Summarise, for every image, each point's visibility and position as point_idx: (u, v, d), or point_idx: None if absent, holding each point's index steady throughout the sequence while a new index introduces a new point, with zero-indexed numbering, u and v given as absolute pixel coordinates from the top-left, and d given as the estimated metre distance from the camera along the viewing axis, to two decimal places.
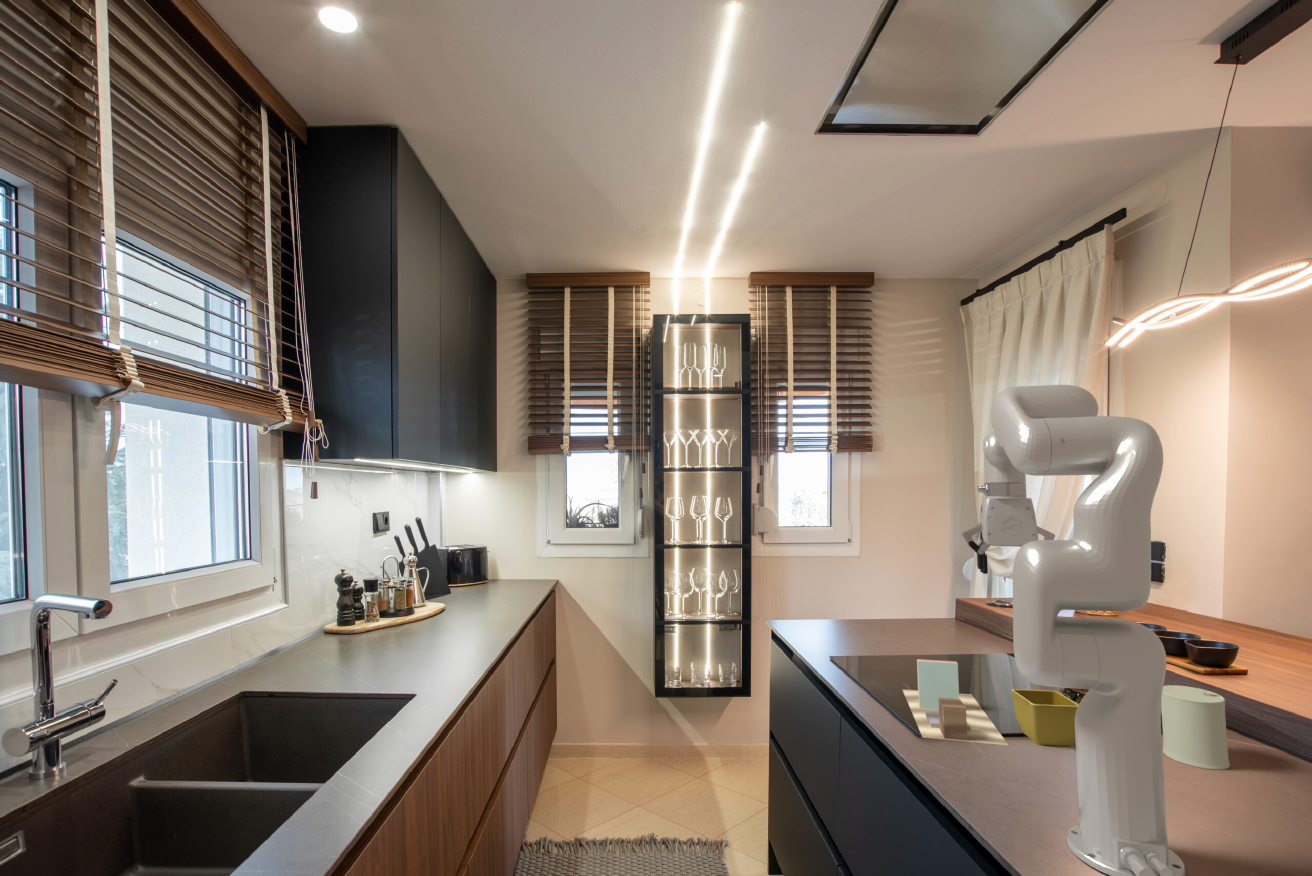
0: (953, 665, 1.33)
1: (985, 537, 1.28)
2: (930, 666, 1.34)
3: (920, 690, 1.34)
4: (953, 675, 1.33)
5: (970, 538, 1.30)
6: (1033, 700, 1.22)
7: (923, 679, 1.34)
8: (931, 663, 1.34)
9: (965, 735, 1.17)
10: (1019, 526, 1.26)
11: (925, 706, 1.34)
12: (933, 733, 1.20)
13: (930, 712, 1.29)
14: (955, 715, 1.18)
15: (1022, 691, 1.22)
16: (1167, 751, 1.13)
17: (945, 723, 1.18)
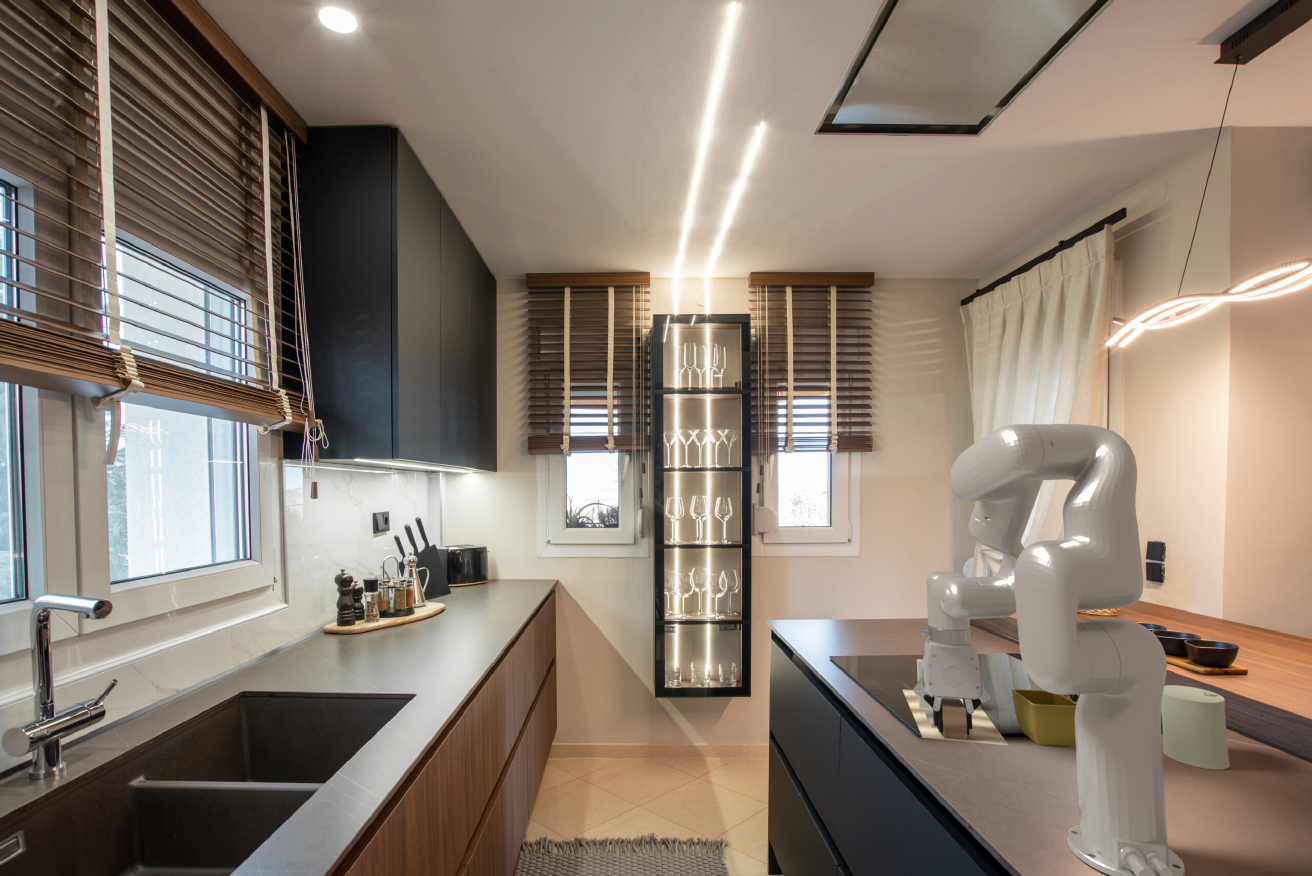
0: None
1: (926, 686, 1.19)
2: None
3: None
4: None
5: (922, 693, 1.21)
6: (1033, 700, 1.22)
7: None
8: None
9: (965, 735, 1.17)
10: (962, 677, 1.18)
11: (925, 706, 1.34)
12: (933, 733, 1.20)
13: (930, 712, 1.29)
14: (955, 715, 1.18)
15: (1022, 691, 1.22)
16: (1167, 751, 1.13)
17: (945, 723, 1.18)
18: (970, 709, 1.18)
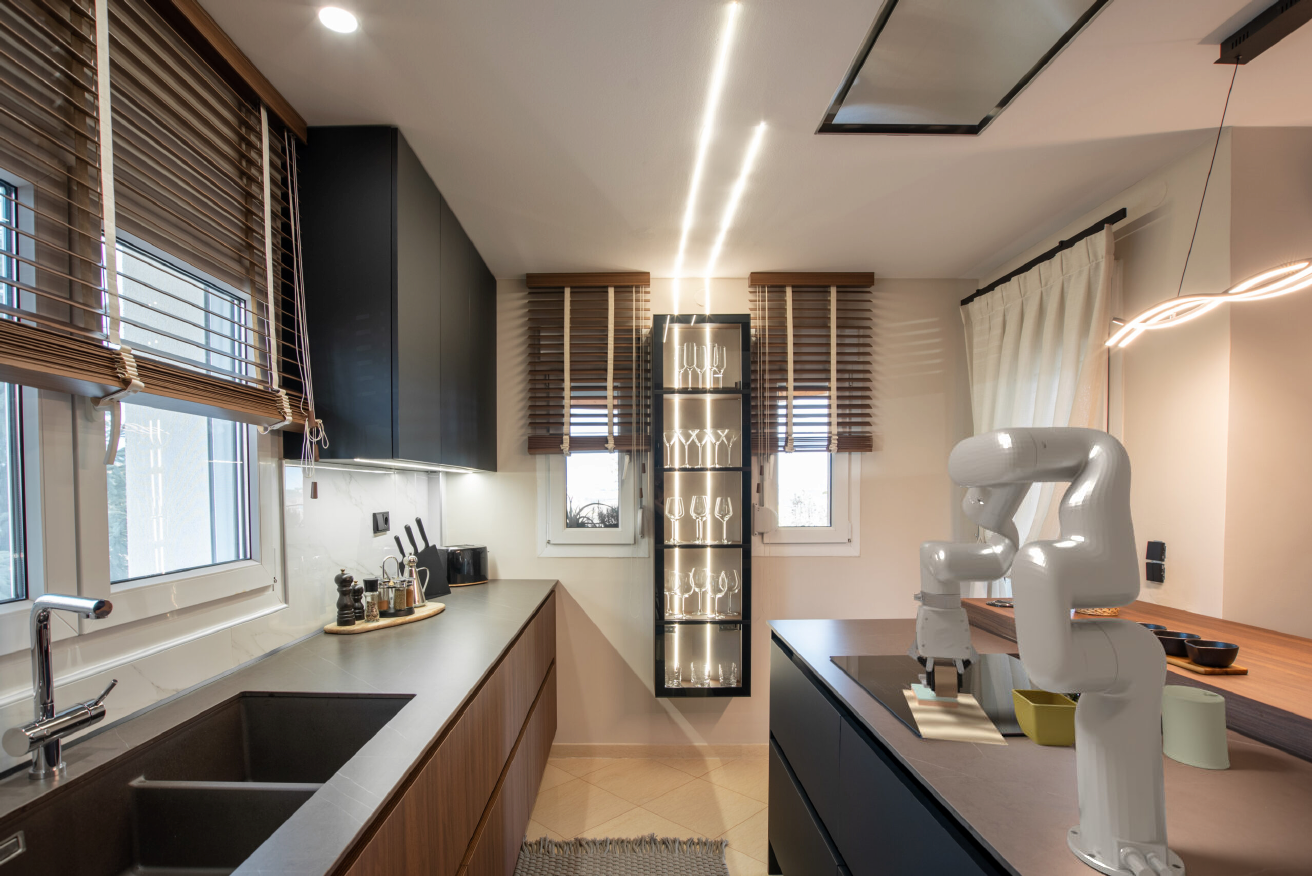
0: None
1: (919, 648, 1.27)
2: None
3: (916, 692, 1.39)
4: None
5: (916, 655, 1.28)
6: (1033, 700, 1.22)
7: (918, 689, 1.41)
8: None
9: (956, 693, 1.24)
10: (953, 638, 1.25)
11: (923, 698, 1.36)
12: (933, 733, 1.20)
13: (923, 675, 1.36)
14: (946, 674, 1.25)
15: (1022, 691, 1.22)
16: (1167, 751, 1.13)
17: (937, 682, 1.25)
18: (960, 669, 1.26)
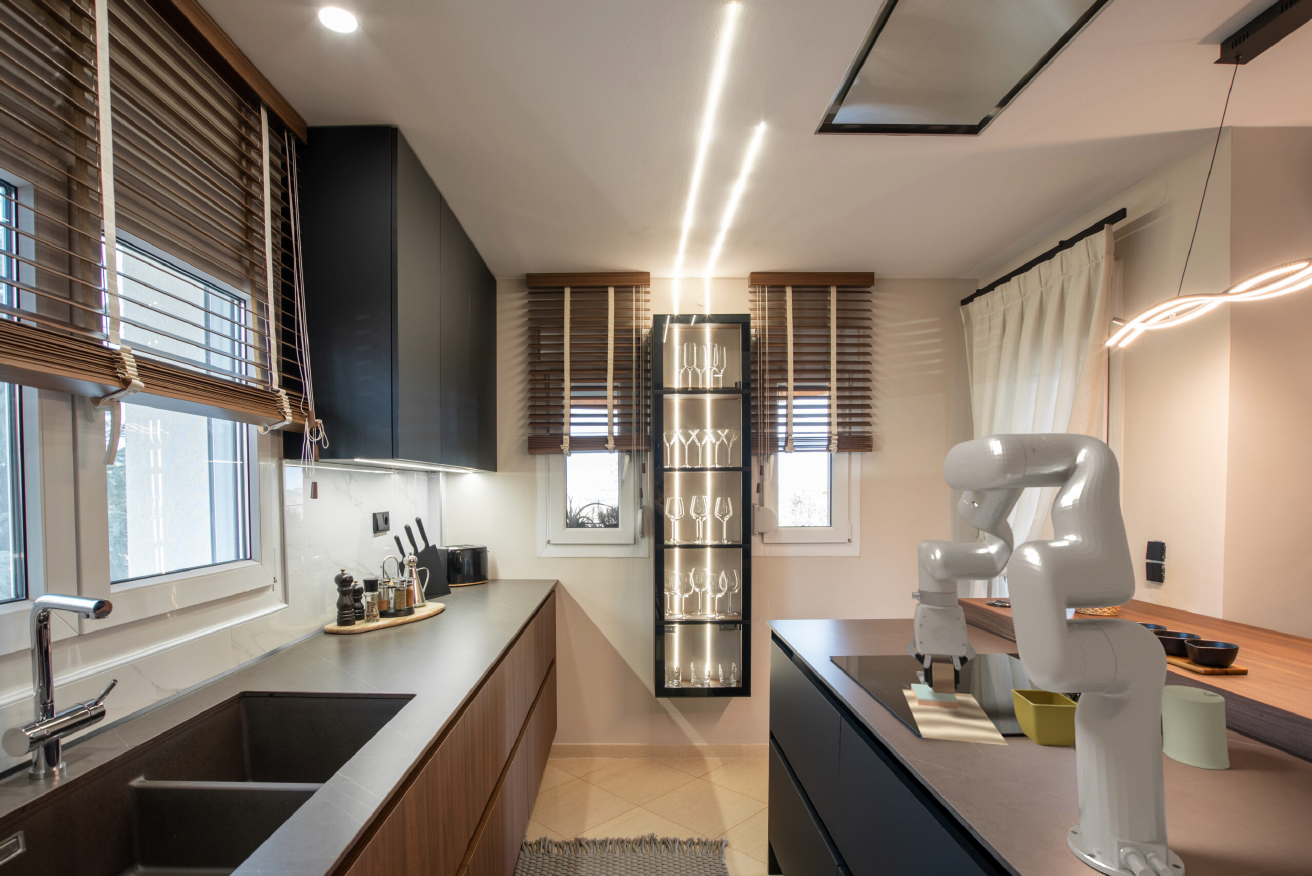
0: None
1: (917, 645, 1.29)
2: (923, 685, 1.44)
3: (916, 692, 1.39)
4: None
5: (914, 652, 1.31)
6: (1033, 700, 1.22)
7: (918, 689, 1.41)
8: None
9: (953, 689, 1.27)
10: (950, 636, 1.28)
11: (923, 698, 1.36)
12: (933, 733, 1.20)
13: (921, 672, 1.39)
14: (944, 671, 1.28)
15: (1022, 691, 1.22)
16: (1167, 751, 1.13)
17: (934, 678, 1.28)
18: (957, 666, 1.28)
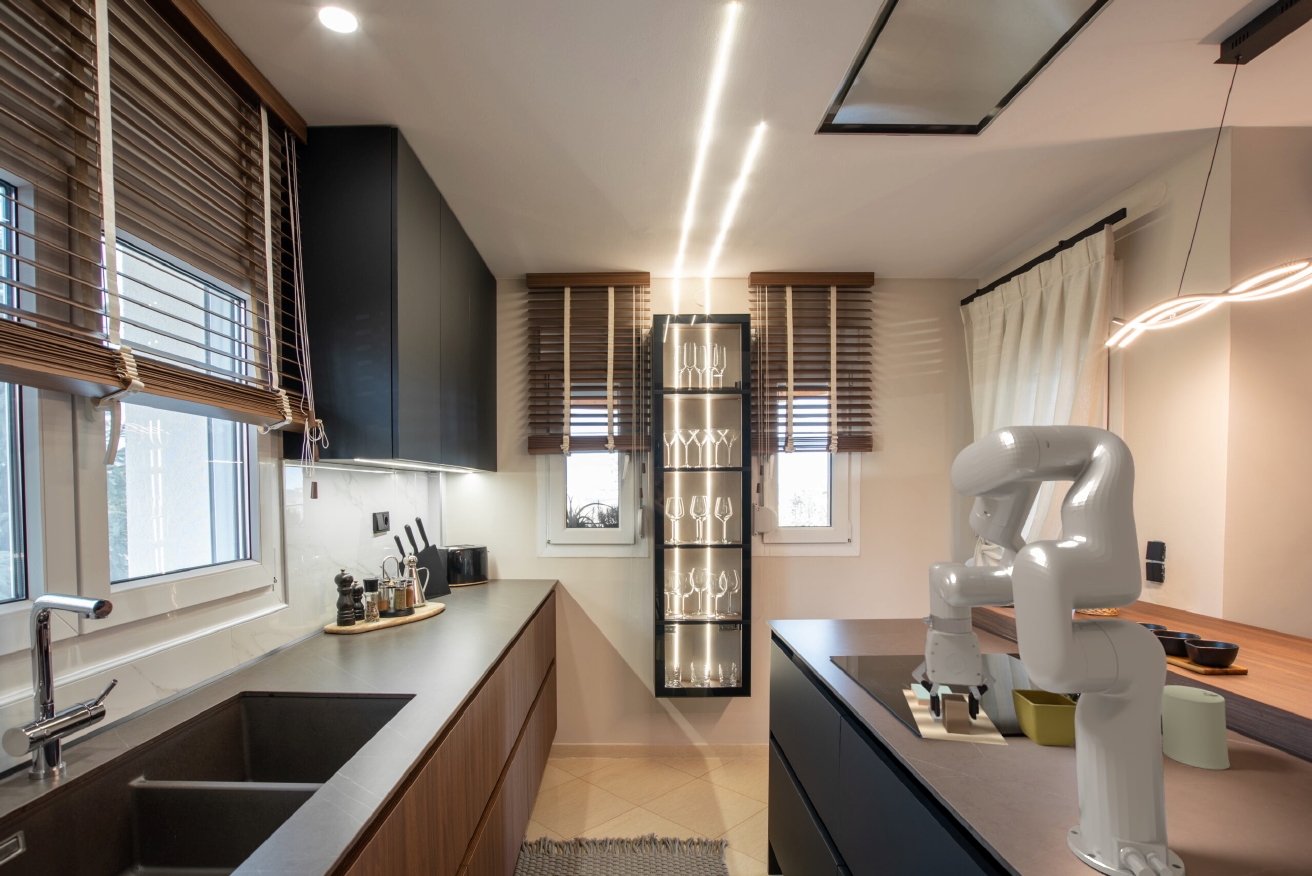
0: (944, 686, 1.43)
1: (929, 674, 1.22)
2: None
3: (916, 692, 1.39)
4: (945, 689, 1.41)
5: (921, 678, 1.24)
6: (1033, 700, 1.22)
7: (918, 689, 1.41)
8: None
9: (967, 730, 1.20)
10: (963, 664, 1.21)
11: (923, 698, 1.36)
12: (933, 733, 1.20)
13: None
14: (958, 710, 1.20)
15: (1022, 691, 1.22)
16: (1167, 751, 1.13)
17: (948, 718, 1.21)
18: (977, 695, 1.21)
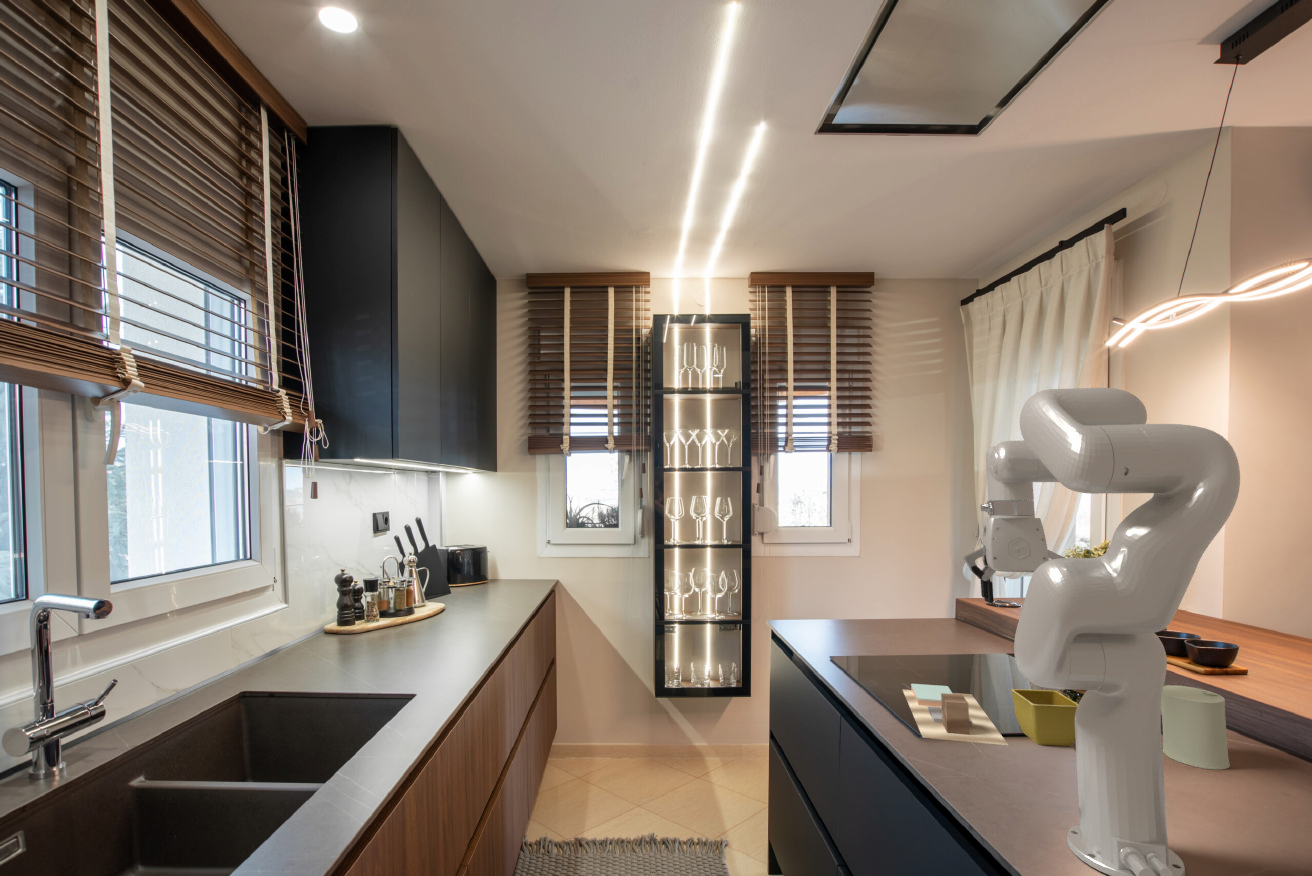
0: (944, 686, 1.43)
1: (990, 561, 1.14)
2: (923, 685, 1.44)
3: (916, 692, 1.39)
4: (945, 689, 1.41)
5: (973, 562, 1.16)
6: (1033, 700, 1.22)
7: (918, 689, 1.41)
8: (923, 684, 1.44)
9: (967, 730, 1.20)
10: (1028, 549, 1.12)
11: (923, 698, 1.36)
12: (933, 733, 1.20)
13: (932, 707, 1.32)
14: (958, 710, 1.20)
15: (1022, 691, 1.22)
16: (1167, 751, 1.13)
17: (948, 718, 1.21)
18: None
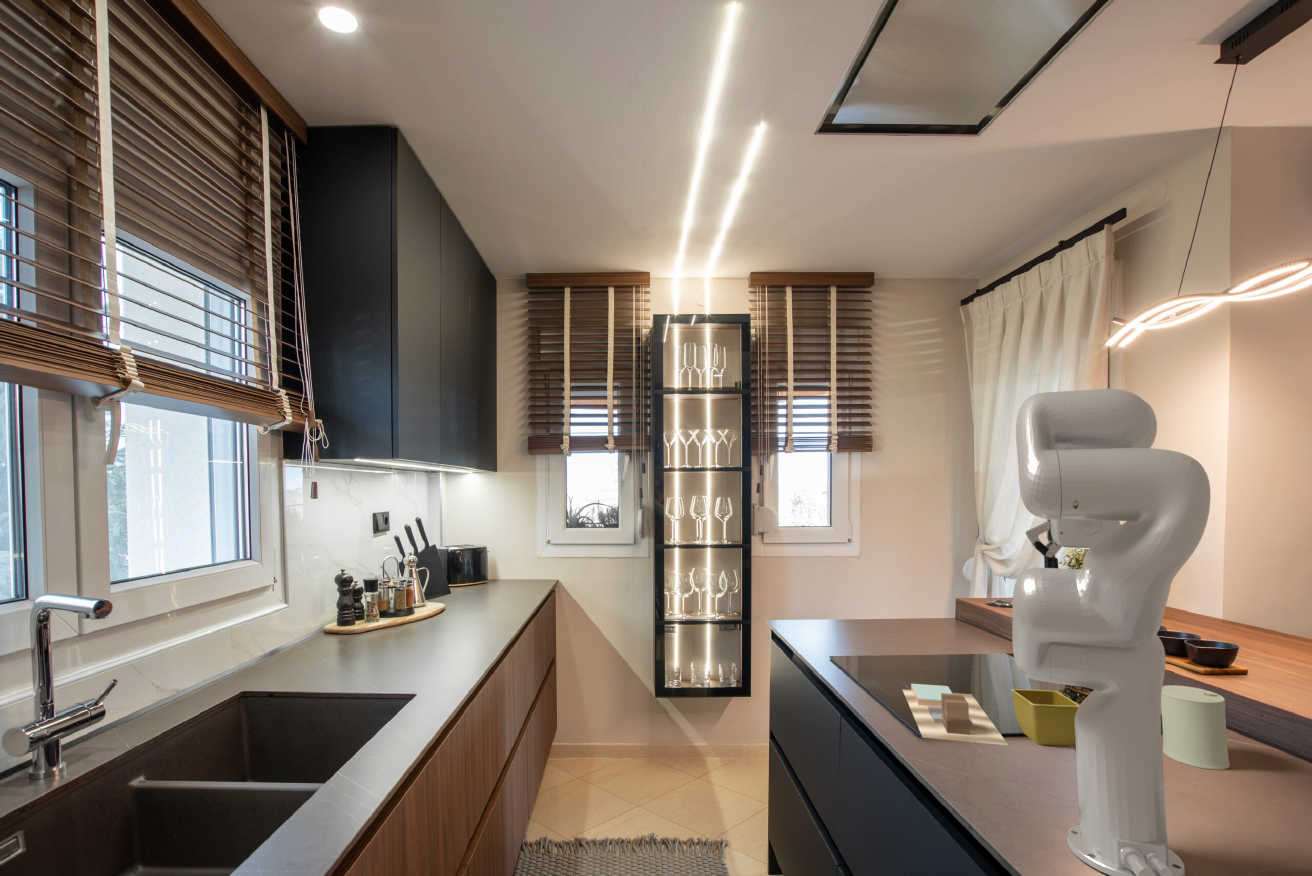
0: (944, 686, 1.43)
1: (1056, 537, 1.06)
2: (923, 685, 1.44)
3: (916, 692, 1.39)
4: (945, 689, 1.41)
5: (1036, 538, 1.08)
6: (1033, 700, 1.22)
7: (918, 689, 1.41)
8: (923, 684, 1.44)
9: (967, 730, 1.20)
10: (1098, 523, 1.04)
11: (923, 698, 1.36)
12: (933, 733, 1.20)
13: (932, 707, 1.32)
14: (958, 710, 1.20)
15: (1022, 691, 1.22)
16: (1167, 751, 1.13)
17: (948, 718, 1.21)
18: None
